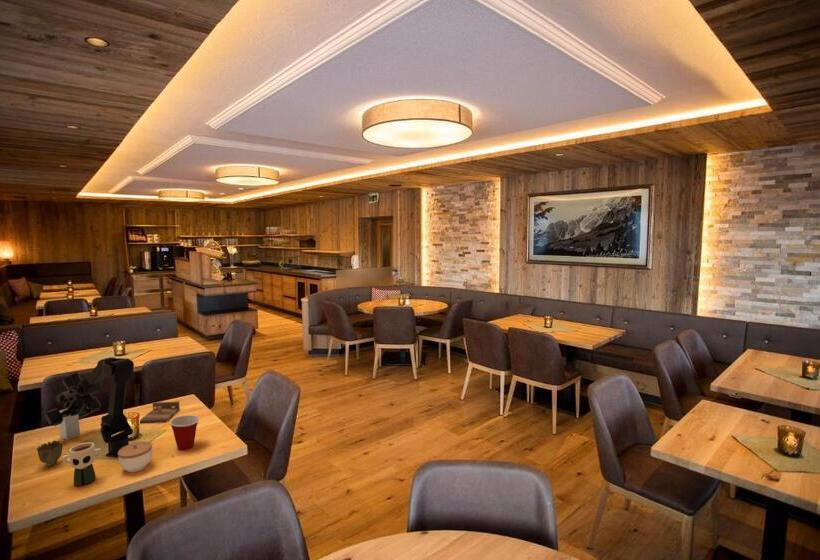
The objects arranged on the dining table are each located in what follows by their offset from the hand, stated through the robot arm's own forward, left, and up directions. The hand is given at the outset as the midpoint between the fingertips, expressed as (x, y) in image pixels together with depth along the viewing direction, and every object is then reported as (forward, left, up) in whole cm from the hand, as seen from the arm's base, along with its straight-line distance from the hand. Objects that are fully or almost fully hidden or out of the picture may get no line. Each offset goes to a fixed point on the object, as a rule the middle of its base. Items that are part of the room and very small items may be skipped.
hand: (67, 421), depth 183 cm
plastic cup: (-58, +1, -7) cm, 59 cm away
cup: (-16, +21, -7) cm, 27 cm away
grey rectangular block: (-1, 0, -7) cm, 7 cm away
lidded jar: (-50, +18, -7) cm, 54 cm away
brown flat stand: (-25, -24, -7) cm, 35 cm away
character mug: (-39, +29, -7) cm, 49 cm away
